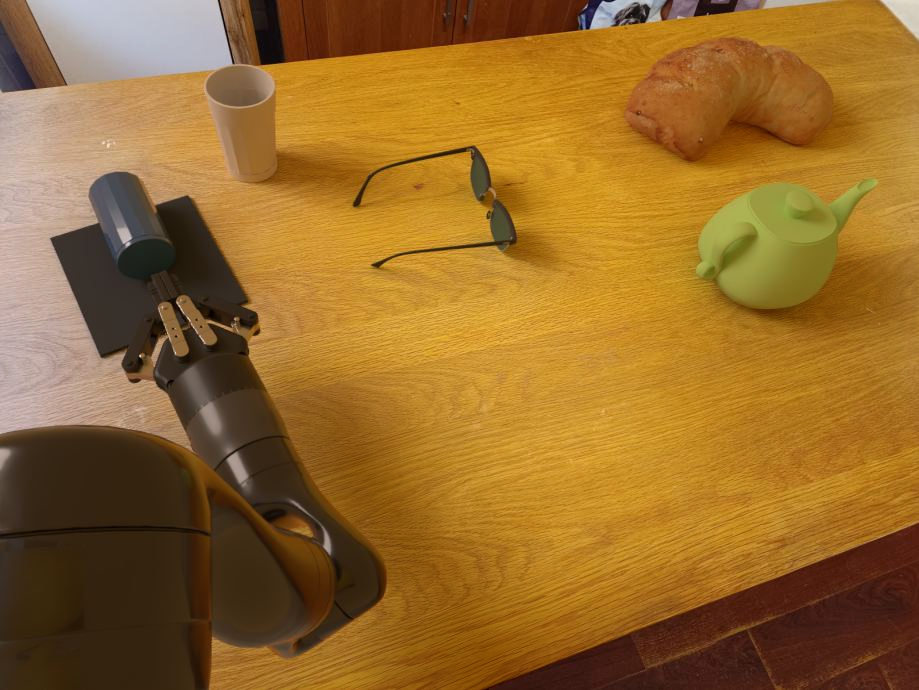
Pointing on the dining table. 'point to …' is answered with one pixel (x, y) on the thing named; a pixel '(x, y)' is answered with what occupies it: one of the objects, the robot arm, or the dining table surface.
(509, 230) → the sunglasses
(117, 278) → the mat
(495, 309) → the dining table surface
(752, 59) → the bread
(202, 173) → the dining table surface
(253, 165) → the cup
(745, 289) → the teapot
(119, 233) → the tumbler
